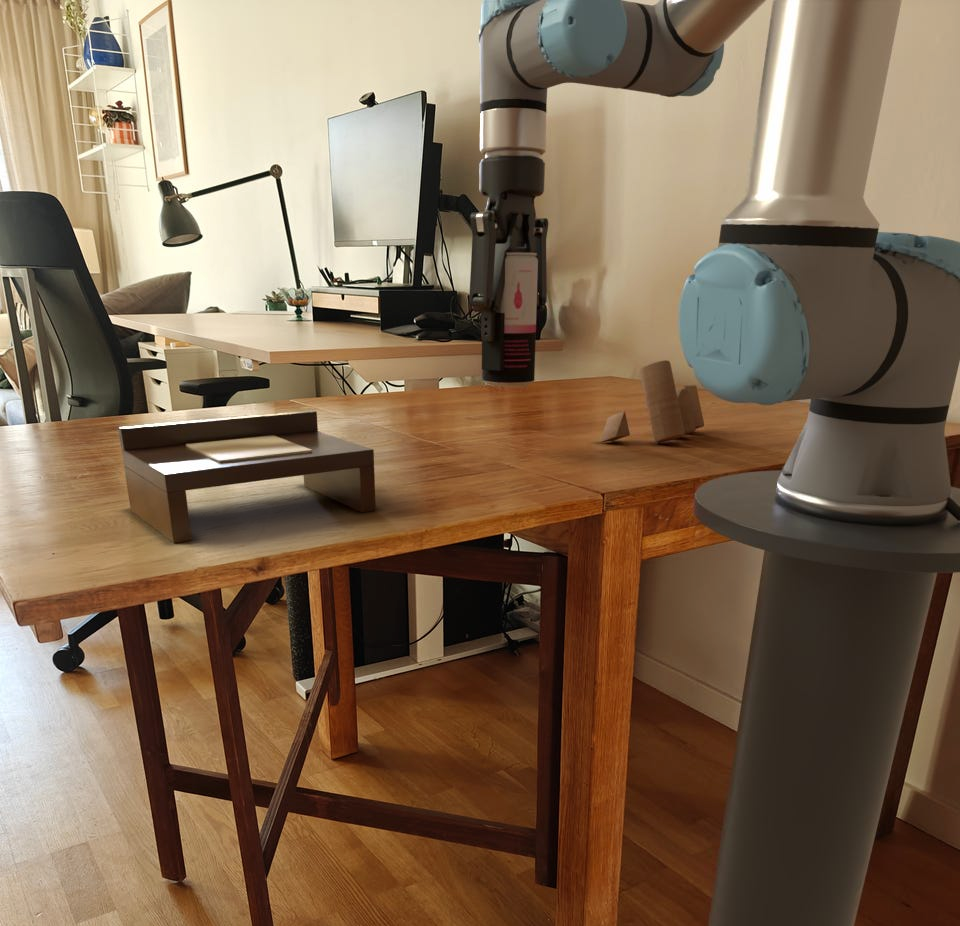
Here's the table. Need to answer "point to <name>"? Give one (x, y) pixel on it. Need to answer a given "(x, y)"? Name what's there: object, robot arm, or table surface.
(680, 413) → the wooden block set
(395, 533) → the table surface
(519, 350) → the beverage can
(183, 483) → the shelf
